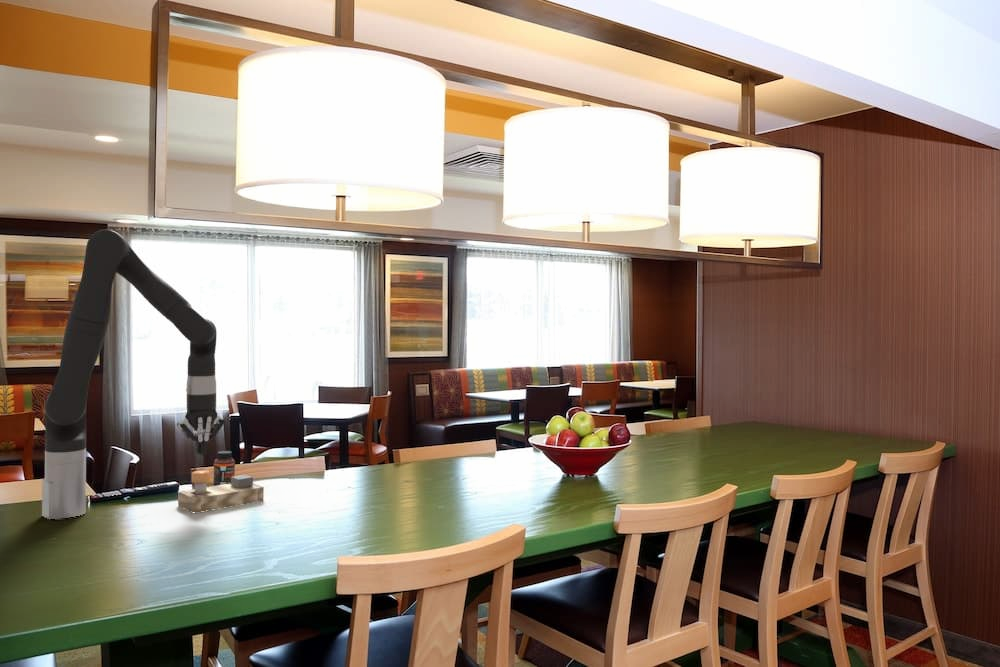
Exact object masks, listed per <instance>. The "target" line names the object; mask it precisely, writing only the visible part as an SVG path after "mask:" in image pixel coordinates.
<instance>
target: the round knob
mask: <svg viewBox="0 0 1000 667" xmlns="http://www.w3.org/2000/svg"><path fill="white" fill-rule="evenodd" d="M210 481H211V471H209V470H195V471H192V472H191V483H192V484H193V483H194V489H195V495H196V496H197V495H203V494H207V487H208V486H207V485H208V482H210Z"/></svg>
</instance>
